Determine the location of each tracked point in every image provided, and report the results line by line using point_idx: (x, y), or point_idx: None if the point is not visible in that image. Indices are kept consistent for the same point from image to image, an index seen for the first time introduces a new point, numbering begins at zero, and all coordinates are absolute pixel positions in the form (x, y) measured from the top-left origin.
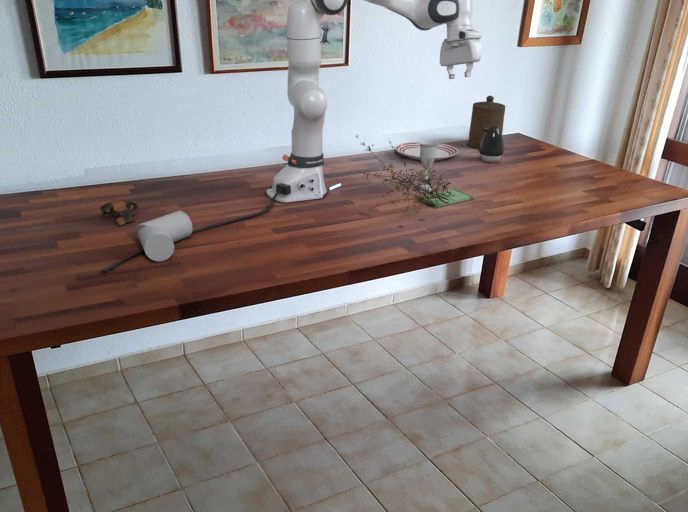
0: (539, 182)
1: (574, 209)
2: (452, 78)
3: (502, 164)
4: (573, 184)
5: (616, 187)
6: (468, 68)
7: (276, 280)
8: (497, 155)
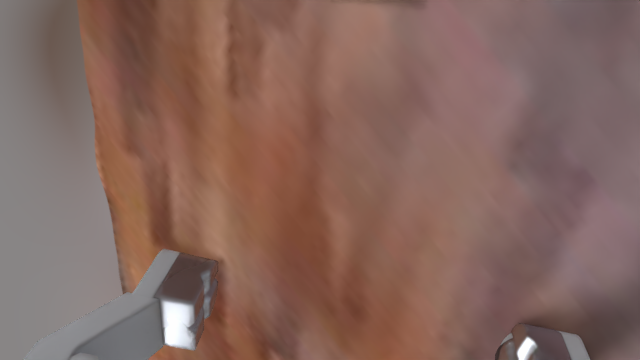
0: (317, 259)
1: (146, 144)
2: (512, 333)
3: (486, 335)
4: (265, 291)
5: (212, 321)
6: (83, 326)
7: None
8: (499, 347)
